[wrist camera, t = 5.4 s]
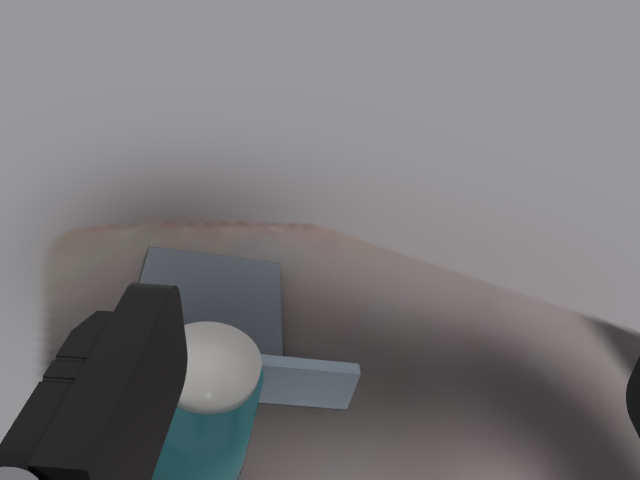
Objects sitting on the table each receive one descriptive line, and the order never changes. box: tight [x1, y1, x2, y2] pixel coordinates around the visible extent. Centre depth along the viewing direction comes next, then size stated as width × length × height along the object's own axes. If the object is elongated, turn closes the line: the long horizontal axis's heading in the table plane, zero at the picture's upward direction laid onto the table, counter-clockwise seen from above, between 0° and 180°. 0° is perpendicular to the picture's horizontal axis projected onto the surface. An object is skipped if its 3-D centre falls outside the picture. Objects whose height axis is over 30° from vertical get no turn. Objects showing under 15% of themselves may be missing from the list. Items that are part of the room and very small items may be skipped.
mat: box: [139, 246, 283, 356], centre depth 48 cm, size 12×13×1 cm
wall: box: [259, 354, 361, 410], centre depth 41 cm, size 18×1×4 cm, turn 94°
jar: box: [151, 321, 264, 480], centre depth 31 cm, size 6×6×13 cm
